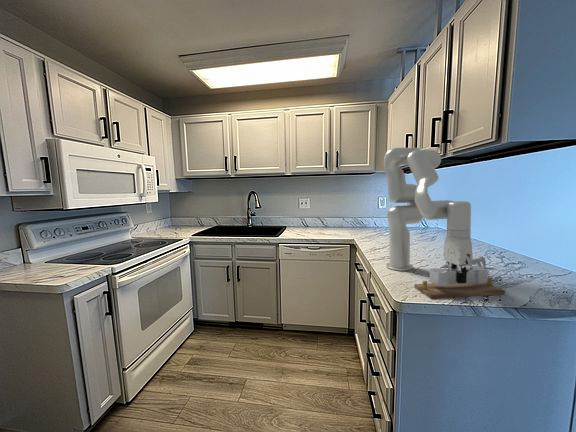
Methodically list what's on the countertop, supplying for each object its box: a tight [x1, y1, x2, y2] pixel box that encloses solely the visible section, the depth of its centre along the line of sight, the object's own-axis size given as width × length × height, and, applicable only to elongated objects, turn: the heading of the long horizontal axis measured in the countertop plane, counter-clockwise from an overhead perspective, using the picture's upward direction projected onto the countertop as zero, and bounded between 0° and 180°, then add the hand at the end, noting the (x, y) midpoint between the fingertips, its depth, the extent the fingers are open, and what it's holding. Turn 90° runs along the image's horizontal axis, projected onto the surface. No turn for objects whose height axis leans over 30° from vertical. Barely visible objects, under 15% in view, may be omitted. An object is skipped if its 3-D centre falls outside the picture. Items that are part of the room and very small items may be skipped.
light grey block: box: [429, 265, 489, 286], centre depth 99 cm, size 6×19×5 cm, turn 93°
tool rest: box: [413, 276, 506, 300], centre depth 100 cm, size 11×28×4 cm, turn 93°
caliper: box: [440, 254, 486, 269], centre depth 129 cm, size 20×1×6 cm, turn 83°
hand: (457, 280), depth 99 cm, fingers closed on light grey block, 3 cm apart
